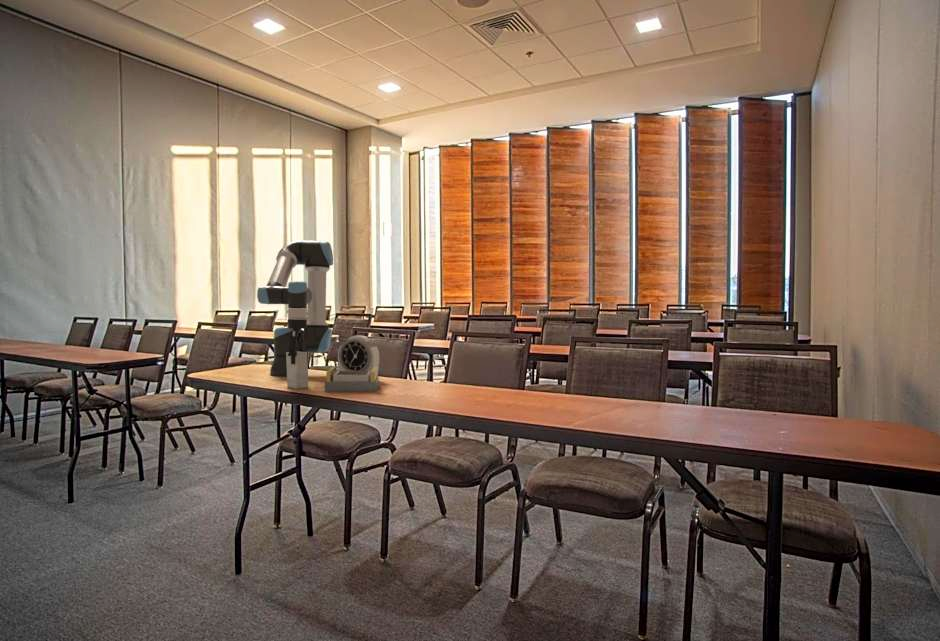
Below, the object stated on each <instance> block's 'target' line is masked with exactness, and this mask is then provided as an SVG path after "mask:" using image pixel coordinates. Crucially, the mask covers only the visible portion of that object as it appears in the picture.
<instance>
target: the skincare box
mask: <svg viewBox="0 0 940 641" xmlns="http://www.w3.org/2000/svg"><path fill="white" fill-rule="evenodd" d="M288 354H289V352H286V363H287V376H286V386H287V388H291V389H295V390H297V389H308V388H309V368H308V367H309V365H308V352H299V351H297V372H290V356H288Z"/></svg>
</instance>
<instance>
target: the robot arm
mask: <svg viewBox="0 0 940 641" xmlns="http://www.w3.org/2000/svg"><path fill="white" fill-rule="evenodd" d="M331 245H332V244H331V243H330V242H329V241H325V240H324V241H323V240H294V241H291V242H289V243H287V244H286V245H284V246H283V247H282V248H281V249H280V250H279V251H278V253H277V255H276V258H275V261H276V263H275V266H274V267H273V270H272V273H271V275H270V277H269V279H268V282H267V284H266V285H262V286H259V287H258V288H257V291H256V299H257V302H258V303H259V304H262V305H287V310H286V313H287V318H288V320H287V326H282V327H277V328H275V329H274V331H273V332H274V334H273V361H272V364H271V367H270V370H269V372H270V373H269V374H270V376H275V377H287V363H286V352H289V354H288V356H290V372H297V351H299V352H307V354H308V353H312V354H313V353H317V354H319V353H327V352H328V351H329V349H330V346H331V344H332V340H333V339H332V338H333V329H331V328H329V327H330V326H329V324H328V322H327V321H326V317H327V316H326V312H327V311H326V308H327V307H326V306H327V272H329V271H330V269H331V268H330V266H333V265H334V254H333V253H334V252H333V249H332V246H331ZM299 265H300V266H301V265H302V266H304V269H305V270H306V271H307V282H306V281H301V280H300V281H297V280H295V281H289V278H290V276H291V274H292V271H293V268H295V267H296V266H299ZM288 281H289V282H288ZM287 283H288V284H287Z"/></svg>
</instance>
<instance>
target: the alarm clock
mask: <svg viewBox="0 0 940 641" xmlns="http://www.w3.org/2000/svg"><path fill="white" fill-rule="evenodd" d="M337 353H338V354H337V365H338V371H372V369H373V367H377V375H378V374H379V373H378V372H379V366H380V351H379V349H378V346H377V345H375V343H374V342H373V341H372V340H370V339H369V337H367V336H365V335H352V336H349V338H348V340H345V341H344V343H342V345H340V346H339V348H338V352H337Z"/></svg>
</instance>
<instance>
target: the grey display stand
mask: <svg viewBox="0 0 940 641" xmlns="http://www.w3.org/2000/svg"><path fill="white" fill-rule="evenodd" d="M325 372H326V376H325V378H326V379H325V381H324V392H325V393H326V392H327V393H328V392H329V393H330V392H335V393H337V392H338V393H341V392H343V393H353V392H354V393H357V392H358V393H361V392H363V393H365V392H366V393H370V392H369V391H374V393H375V391H376V392H377V390H378V388H379V375H378V374H377V367H373V369H372V371H339V370H337V366H331V367H330V368H329V369H328V370H327V371H325Z"/></svg>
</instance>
